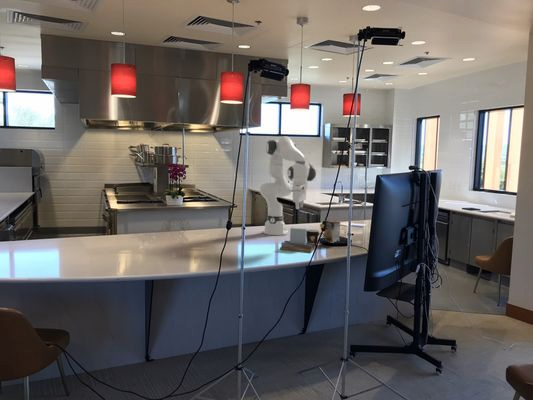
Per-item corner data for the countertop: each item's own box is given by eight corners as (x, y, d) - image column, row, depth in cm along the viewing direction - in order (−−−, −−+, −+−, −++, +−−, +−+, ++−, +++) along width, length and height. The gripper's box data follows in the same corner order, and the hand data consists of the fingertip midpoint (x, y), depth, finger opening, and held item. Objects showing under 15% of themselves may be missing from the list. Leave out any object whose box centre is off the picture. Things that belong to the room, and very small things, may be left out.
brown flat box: (286, 245, 305) (286, 239, 304) (315, 248, 298) (315, 242, 298) (279, 249, 292) (280, 243, 291) (310, 252, 285) (310, 246, 285)
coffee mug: (303, 245, 307) (304, 230, 306) (308, 243, 314) (309, 229, 313) (319, 247, 301) (320, 232, 300) (324, 245, 309) (325, 230, 308)
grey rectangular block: (291, 245, 298) (291, 227, 297) (306, 247, 295) (306, 228, 293) (289, 246, 295) (290, 228, 294) (304, 248, 292) (305, 229, 291)
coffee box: (323, 243, 315) (324, 220, 313) (329, 242, 319) (330, 219, 317) (332, 246, 307) (333, 222, 306) (339, 245, 311) (340, 221, 310)
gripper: (299, 185, 301) (298, 206, 303) (291, 187, 282) (290, 209, 284) (308, 185, 299) (308, 206, 301) (301, 188, 280) (300, 210, 282)
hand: (299, 208), depth 292 cm, fingers open, 8 cm apart
